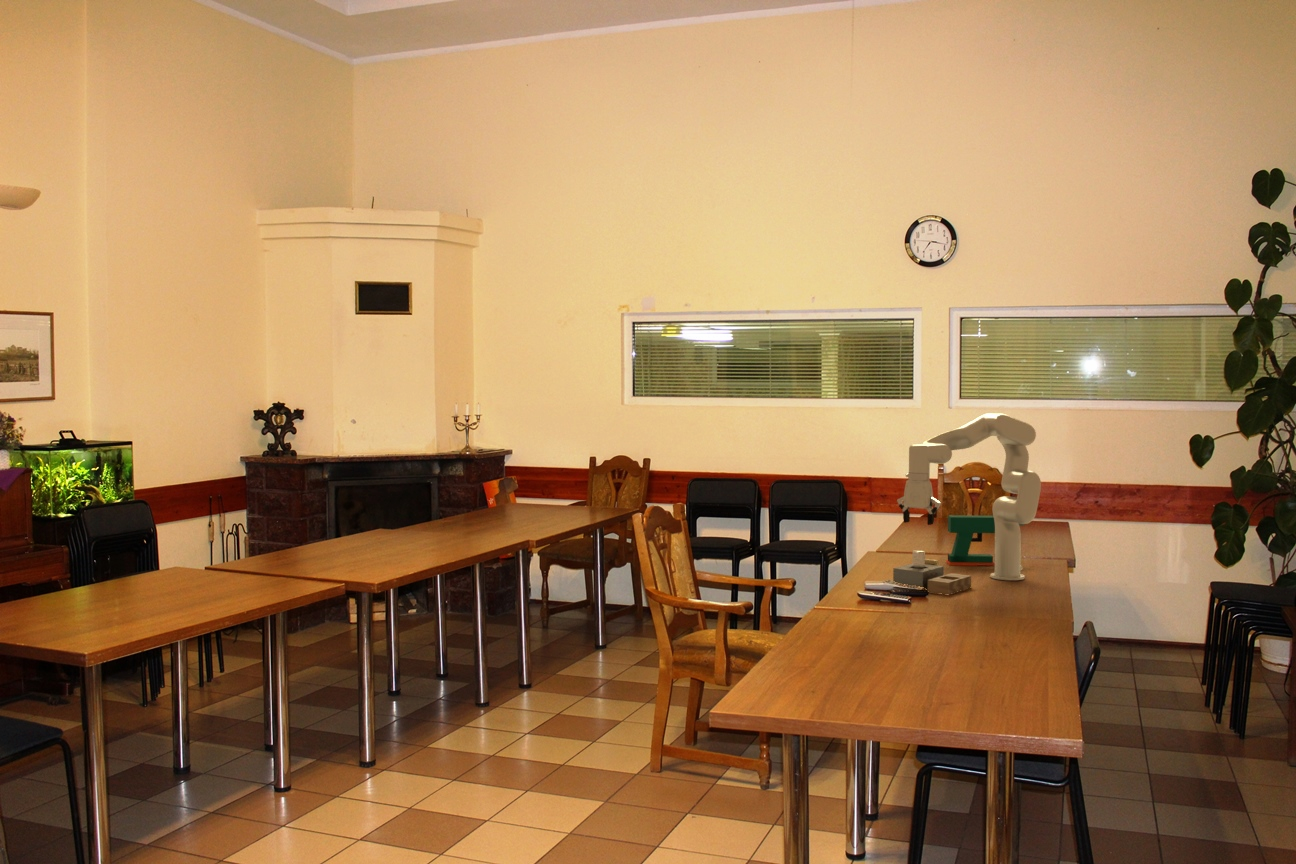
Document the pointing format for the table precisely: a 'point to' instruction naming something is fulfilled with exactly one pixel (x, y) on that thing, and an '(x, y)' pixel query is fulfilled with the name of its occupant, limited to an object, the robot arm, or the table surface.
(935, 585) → the block
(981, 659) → the table surface
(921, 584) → the socket block
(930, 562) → the drift key
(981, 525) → the power tool
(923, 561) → the cream post
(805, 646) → the table surface
